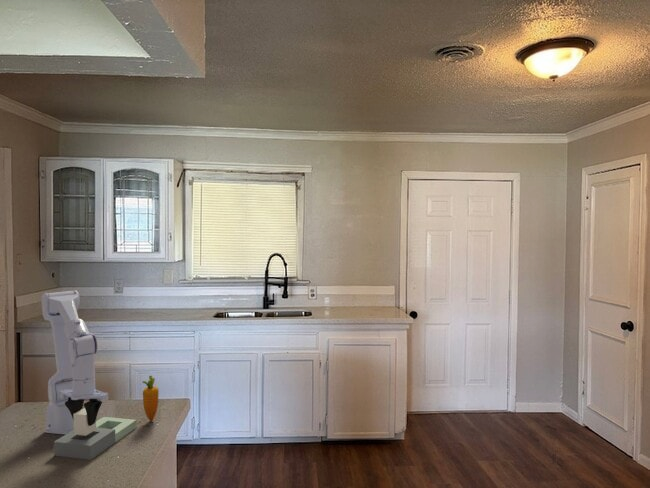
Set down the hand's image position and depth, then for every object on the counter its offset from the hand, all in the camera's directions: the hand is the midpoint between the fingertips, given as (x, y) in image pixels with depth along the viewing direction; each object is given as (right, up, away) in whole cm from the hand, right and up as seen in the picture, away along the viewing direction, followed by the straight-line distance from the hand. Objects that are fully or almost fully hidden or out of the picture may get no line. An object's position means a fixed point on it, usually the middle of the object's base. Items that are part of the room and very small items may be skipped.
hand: (84, 423), depth 126 cm
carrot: (+12, -7, +18) cm, 23 cm away
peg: (0, -2, 0) cm, 2 cm away
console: (+1, -7, +5) cm, 9 cm away
